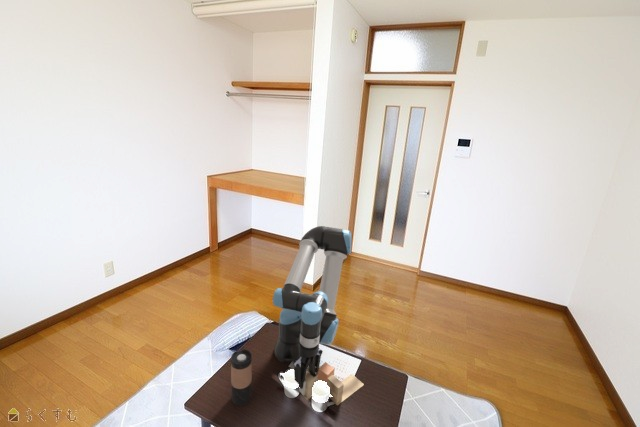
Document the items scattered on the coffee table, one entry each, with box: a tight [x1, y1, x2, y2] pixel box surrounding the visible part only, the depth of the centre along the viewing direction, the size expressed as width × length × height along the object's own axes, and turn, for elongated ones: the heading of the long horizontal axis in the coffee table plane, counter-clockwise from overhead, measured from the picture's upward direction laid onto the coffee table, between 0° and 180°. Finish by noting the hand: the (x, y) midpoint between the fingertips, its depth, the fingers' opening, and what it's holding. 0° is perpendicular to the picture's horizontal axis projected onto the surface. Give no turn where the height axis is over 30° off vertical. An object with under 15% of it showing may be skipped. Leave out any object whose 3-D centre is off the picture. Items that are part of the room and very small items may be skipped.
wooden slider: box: [301, 370, 319, 402], centre depth 125 cm, size 7×16×9 cm, turn 132°
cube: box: [317, 361, 335, 382], centre depth 128 cm, size 5×5×5 cm
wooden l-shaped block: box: [327, 373, 365, 406], centre depth 123 cm, size 7×16×9 cm, turn 132°
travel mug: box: [230, 349, 253, 407], centre depth 115 cm, size 8×8×20 cm
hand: (305, 390), depth 122 cm, fingers closed on wooden slider, 3 cm apart
